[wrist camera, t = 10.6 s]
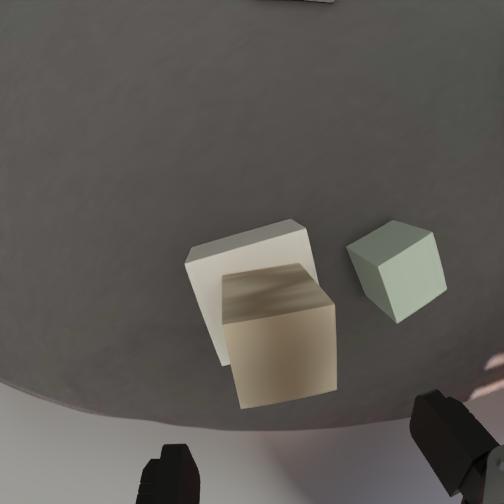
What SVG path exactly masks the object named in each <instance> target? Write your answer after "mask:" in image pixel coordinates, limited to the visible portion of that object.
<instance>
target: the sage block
mask: <svg viewBox="0 0 504 504" xmlns="http://www.w3.org/2000/svg"><path fill="white" fill-rule="evenodd" d="M346 249H347V251H348V254H349V256H350V258H351V261H352V263H353V266H354V268H355V271H356V273H357V275H358V278H359V280H360V283H361V285H362V288H363V291H364V293H365V295H366V296H367V297H368V298H369V299H370V300H371V301H372V302H374V303H375V304H376V305H377V306H378V307H379V308H380V309H381V310H383V311H384V312H385V313H386V314H387V315H388V316H389V317H390V318H391V319H393V320H394V321H395V322H396V323H399V322H400V321H402V320H403V319H405V318H406V317H408V316H409V315H411V314H412V313H414V312H415V311H417V310H418V309H420V308H421V307H423V306H424V305H426V304H427V303H429V302H430V301H431V300H433V299H434V298H436V297H437V296H438V295H440V294H441V293H443V292H444V291H445V290H447V287H446V282H445V278H444V273H443V269H442V265H441V261H440V257H439V253H438V250H437V246H436V242H435V239H434V235H433V232H431V231H428V230H424V229H421V228H418V227H415V226H412V225H408V224H405V223H402V222H398V221H395V220H392V221H390V222H388V223H387V224H385V225H383V226H381V227H380V228H378V229H376V230H374V231H373V232H371V233H369V234H367V235H366V236H364V237H362V238H360V239H359V240H357V241H355V242H353V243H352V244H350V245H348V246H346Z"/></svg>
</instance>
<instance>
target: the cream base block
mask: <svg viewBox="0 0 504 504" xmlns="http://www.w3.org/2000/svg"><path fill="white" fill-rule="evenodd" d="M298 262H299V263H300V264H301V265H302V266H303V268H304V269H305V270H306V271H307V272H308V273H309V275H310V276H311V277H312V278H313V279H314V280H315V282H316V283H317V284H318V285H319V283H318V278H317V274H316V269H315V265H314V260H313V256H312V251H311V247H310V243H309V238H308V234H307V230H306V228H305V227H303V226H302V225H300V224H298V223H297V222H295V221H294V220H292V219H288V220H284V221H281V222H277V223H274V224H270V225H267V226H263V227H260V228H256V229H253V230H249V231H246V232H242V233H239V234H235V235H232V236H228V237H225V238H222V239H218V240H215V241H211V242H208V243H205V244H201V245H198V246H194V247H192V248H191V250H190V252H189V254H188V257H187V259H186V261H185V263H184V264H185V267H186V270H187V273H188V276H189V279H190V282H191V284H192V287H193V290H194V293H195V296H196V299H197V301H198V304H199V307H200V310H201V312H202V315H203V318H204V320H205V323H206V326H207V328H208V331H209V334H210V336H211V339H212V341H213V344H214V347H215V349H216V352H217V354H218V357H219V359H220V362H221V364H222V366H225V365H229V364H230V359H229V355H228V350H227V345H226V341H225V336H224V331H223V326H222V275H227V274H233V273H239V272H245V271H251V270H257V269H263V268H269V267H275V266H281V265H287V264H293V263H298Z"/></svg>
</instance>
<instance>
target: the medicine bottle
mask: <svg viewBox="0 0 504 504" xmlns="http://www.w3.org/2000/svg"><path fill="white" fill-rule="evenodd" d="M306 1H318V2H328V3H333V2H334V1H335V0H306Z"/></svg>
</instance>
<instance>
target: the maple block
mask: <svg viewBox="0 0 504 504" xmlns="http://www.w3.org/2000/svg"><path fill="white" fill-rule="evenodd" d="M222 326H223V331H224V336H225V341H226V345H227V350H228V355H229V359H230V364H231V368H232V373H233V377H234V381H235V386H236V390H237V394H238V399H239V403H240V407H241V409H245V408H251V407H257V406H263V405H269V404H274V403H280V402H285V401H290V400H295V399H299V398H304V397H309V396H313V395H317V394H322V393H326V392H330V391H334V390H337V352H336V320H335V304H334V303H333V301H332V300H331V299H330V298H329V297H328V296H327V294H326V293H325V292H324V291H323V290H322V289H321V287H320V286H319V285H318V284H317V283H316V282H315V280H314V279H313V278H312V277H311V276H310V275H309V273H308V272H307V271H306V270H305V269H304V268H303V266H302V265H301V264H300V263H299V262H298V263H293V264H287V265H281V266H275V267H269V268H263V269H257V270H251V271H245V272H239V273H233V274H227V275H222Z"/></svg>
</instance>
